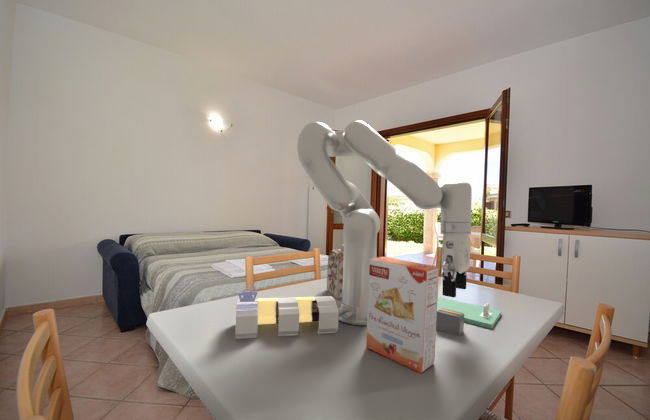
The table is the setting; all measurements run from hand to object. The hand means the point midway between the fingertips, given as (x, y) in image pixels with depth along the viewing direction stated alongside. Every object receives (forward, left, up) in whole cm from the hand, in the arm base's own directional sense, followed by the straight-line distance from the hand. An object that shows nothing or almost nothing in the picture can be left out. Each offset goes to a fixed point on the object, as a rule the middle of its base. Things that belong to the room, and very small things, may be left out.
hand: (454, 292), depth 81 cm
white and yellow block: (-30, +33, -11) cm, 46 cm away
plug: (0, +1, -11) cm, 11 cm away
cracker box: (-23, +5, -11) cm, 26 cm away
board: (+17, +2, -11) cm, 20 cm away
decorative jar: (+7, +40, -11) cm, 42 cm away
